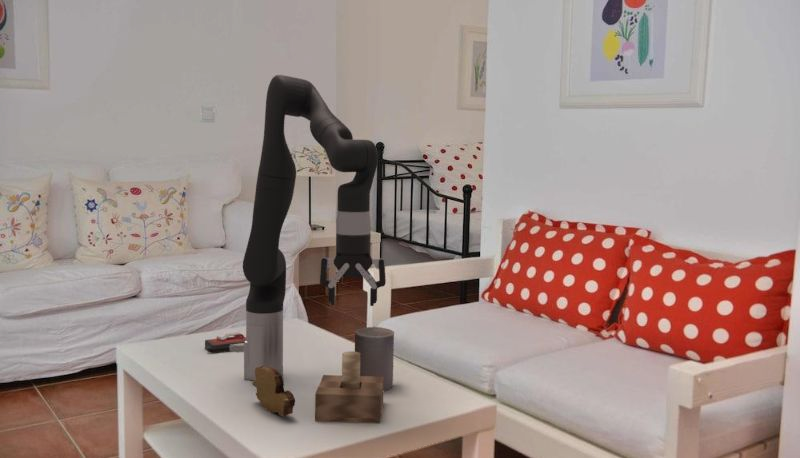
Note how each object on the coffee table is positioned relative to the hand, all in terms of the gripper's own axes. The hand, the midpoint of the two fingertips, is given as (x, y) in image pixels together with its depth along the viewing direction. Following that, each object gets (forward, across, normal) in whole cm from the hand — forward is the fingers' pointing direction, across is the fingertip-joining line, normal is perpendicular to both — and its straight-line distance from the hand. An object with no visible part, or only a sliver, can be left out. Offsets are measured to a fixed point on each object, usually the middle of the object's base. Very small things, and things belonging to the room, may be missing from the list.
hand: (352, 304), depth 178 cm
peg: (+23, 0, 0) cm, 23 cm away
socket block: (+24, 0, 0) cm, 24 cm away
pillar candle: (+24, +4, +19) cm, 31 cm away
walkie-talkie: (+24, -37, +51) cm, 68 cm away
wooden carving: (+24, -17, -1) cm, 30 cm away
